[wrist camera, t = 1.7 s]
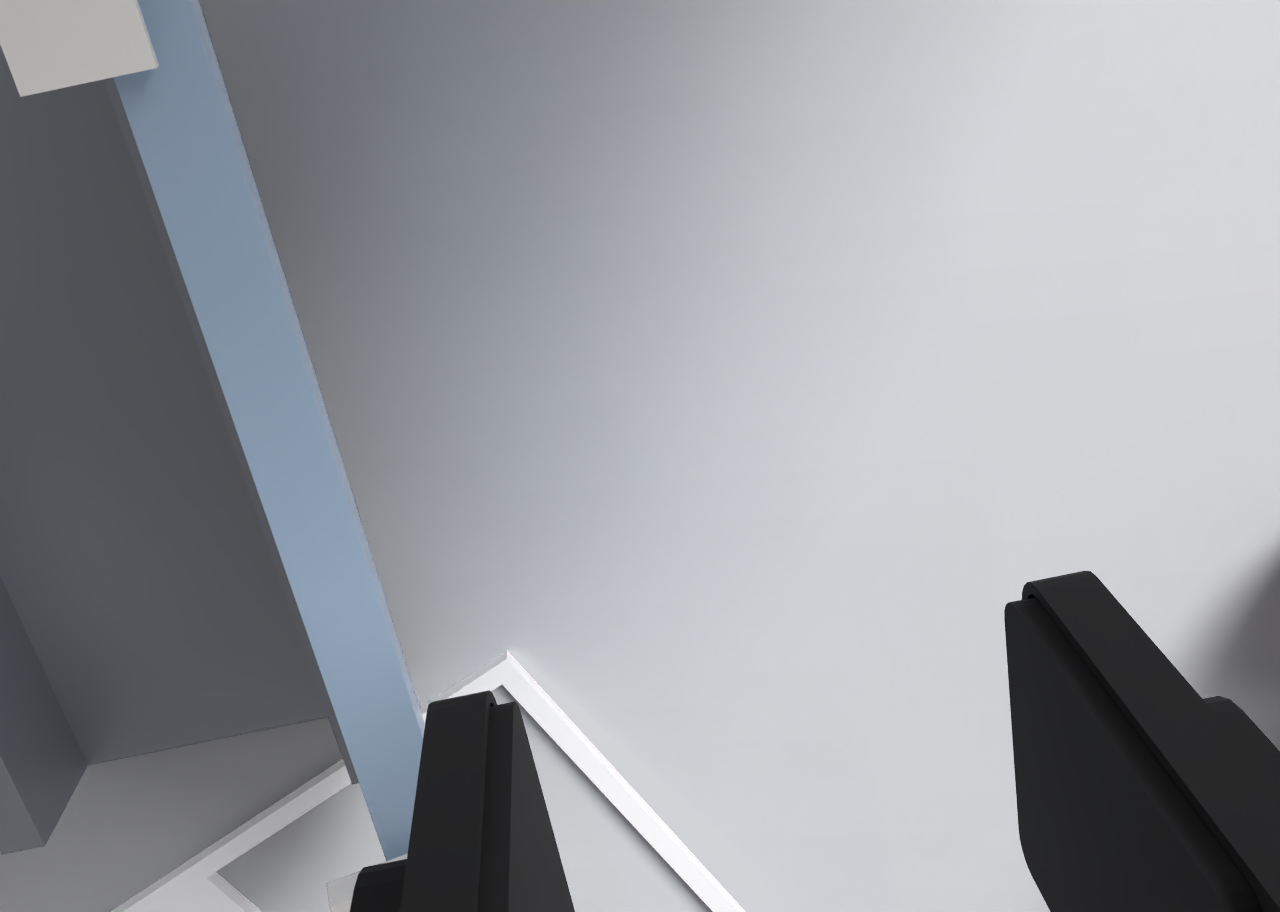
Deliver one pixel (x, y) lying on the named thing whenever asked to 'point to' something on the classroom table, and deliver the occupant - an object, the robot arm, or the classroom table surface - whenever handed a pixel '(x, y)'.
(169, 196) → the duct cover
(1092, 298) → the classroom table surface
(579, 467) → the classroom table surface
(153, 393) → the cable duct
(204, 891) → the photo frame
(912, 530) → the classroom table surface
